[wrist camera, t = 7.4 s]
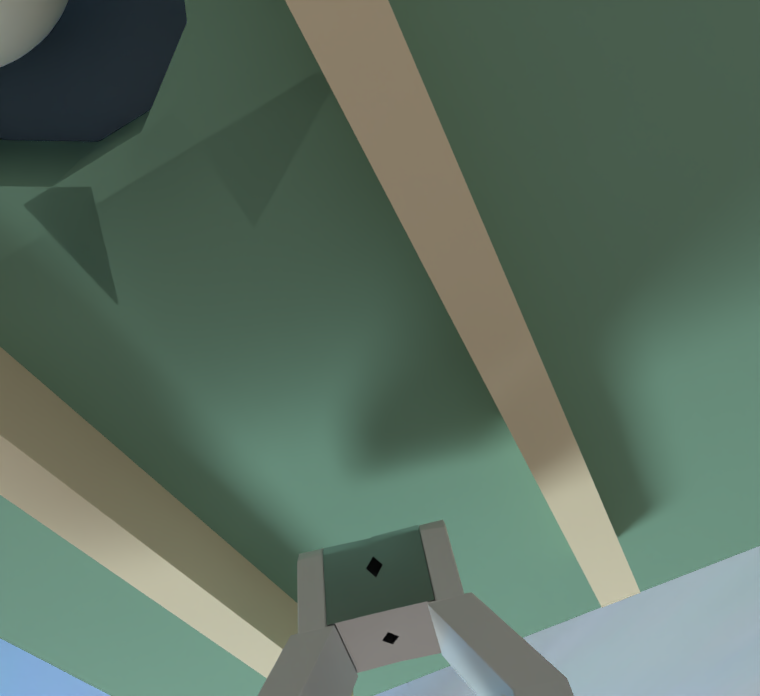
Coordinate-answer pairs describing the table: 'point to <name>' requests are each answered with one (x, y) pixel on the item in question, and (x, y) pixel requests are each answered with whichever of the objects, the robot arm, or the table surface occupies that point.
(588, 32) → the putting mat
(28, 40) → the ball
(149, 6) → the table surface
